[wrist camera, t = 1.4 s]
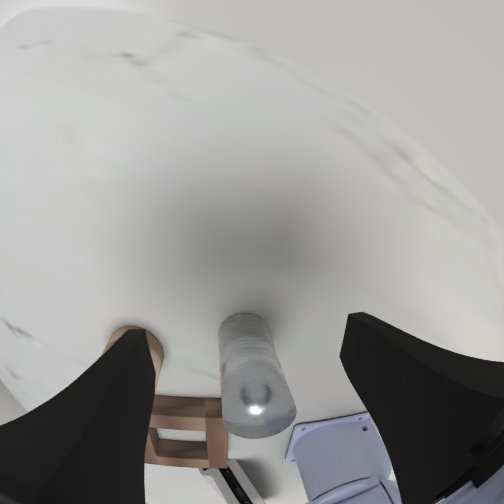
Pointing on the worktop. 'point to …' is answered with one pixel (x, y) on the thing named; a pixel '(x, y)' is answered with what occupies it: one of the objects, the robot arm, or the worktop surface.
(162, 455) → the socket block
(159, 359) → the oak stub
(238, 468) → the hinge
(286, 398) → the tall pin
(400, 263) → the worktop surface
